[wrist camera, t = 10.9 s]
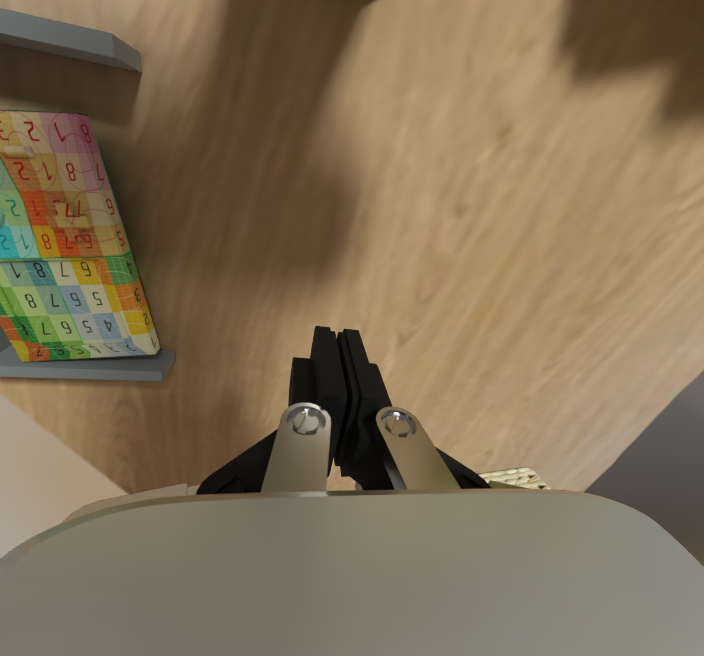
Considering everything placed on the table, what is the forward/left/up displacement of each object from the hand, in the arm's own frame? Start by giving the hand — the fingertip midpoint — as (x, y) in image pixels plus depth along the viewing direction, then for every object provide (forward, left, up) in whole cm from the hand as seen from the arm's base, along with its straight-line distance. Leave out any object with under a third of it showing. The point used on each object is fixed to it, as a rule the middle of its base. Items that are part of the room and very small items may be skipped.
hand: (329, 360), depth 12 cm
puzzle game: (+3, -21, -23) cm, 31 cm away
